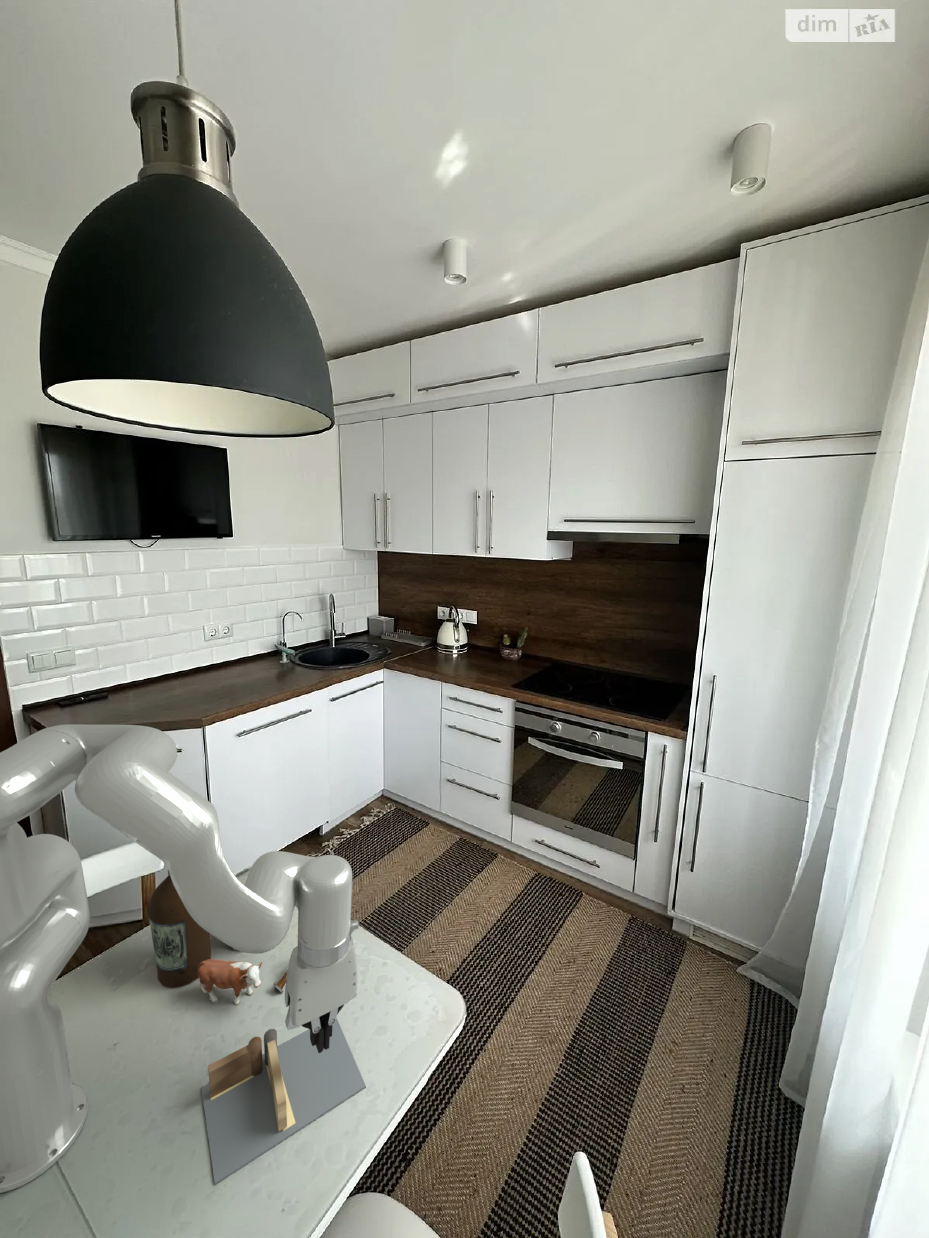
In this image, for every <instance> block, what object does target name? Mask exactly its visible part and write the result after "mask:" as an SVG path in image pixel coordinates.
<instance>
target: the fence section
mask: <svg viewBox="0 0 929 1238" xmlns="http://www.w3.org/2000/svg"><path fill="white" fill-rule="evenodd" d="M262 1041H263V1040H262V1038H261V1037H260V1036H253V1037H252V1038H251V1039H250V1040H249V1041H248V1044H247V1045H245V1046H243V1047H242V1048H238V1049H237V1050H235V1051H234V1052H232V1053H229V1054H228V1055H226V1056H224V1057H222V1058H220V1059H217V1060H216V1061H214V1062H212V1063H210V1064H209V1065H207V1071H208V1074H207V1075H208V1083H209V1089H210V1097H211V1098H212V1097H214V1096H216V1095H218V1094H219V1093H221V1092H223V1091H225V1090H227V1089H228V1088H230V1087H232V1086H234V1085H236V1084H237V1083H239V1082H241V1081H243V1080H245V1079H246V1078H248V1077H250V1076H257V1075H259V1074H260V1073H261V1071H262V1069H263V1063H262V1054H263V1045H262V1044H263V1042H262Z"/></svg>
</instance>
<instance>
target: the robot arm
mask: <svg viewBox="0 0 929 1238" xmlns="http://www.w3.org/2000/svg"><path fill="white" fill-rule="evenodd" d="M177 757H178V749H177V745H176V743H175V741H174V739H173V738H172V737H171V736H170V735H169V734H167V733H166V732H164V731H162V730H160V729H158V728H154V727H151V726H146V725H139V724H138V725H136V724H83V723H82V724H72V723H71V724H59V725H54V726H49V727H46V728H43V729H40V730H39V731H36V732H34V733H33V734H31V735H29V736H27V737H25V738H23V739H21V741H18V742H16V744H13V745H12V746H10V747H8V748H7V749H5V750H3V751H0V1194H1V1193H6V1192H10V1191H12V1190H15V1189H18V1188H20V1187H23V1186H24V1185H26V1184H28V1183H30V1182H32V1181H33V1180H35V1179H36V1178H37V1177H39V1176H40V1175H42V1174H44V1173H45V1172H46V1171H48V1169H49V1168H51V1167H52V1166H53V1165H55V1163H56V1162H57V1161H59V1159H60V1158H61V1157H63V1155H64V1154H65V1153H66V1152H67V1151H68V1150H69V1148H70V1147H71V1146H72V1145H73V1144H74V1142H75V1140H76V1139H77V1137H78V1136H79V1134H80V1133H81V1131H82V1129H83V1127H84V1126H85V1125H84V1124H85V1121H86V1119H87V1115H88V1109H89V1108H88V1107H89V1105H88V1097H87V1093H86V1092H85V1091H84V1089H83V1088H82V1087H80V1086H78V1085H77V1084H74V1083H72V1079H71V1073H70V1072H71V1071H70V1064H69V1063H70V1062H69V1056H68V1047H67V1039H66V1031H65V1026H64V1019H63V1014H62V1011H61V1008H60V1006H59V1005H58V1004H57V1003H55V1002H54V1001H52V1000H49V994H50V991H51V988H52V987H53V985H54V983H55V981H56V979H58V976H60V974H61V973H62V971H63V970H64V968H65V967H66V966H67V964H68V962H69V961H70V960H71V958H72V957H73V956H74V954H75V953H76V951H77V950H78V948H79V947H80V946H81V945H82V942H83V941H84V939H85V938H86V936H87V933H88V931H89V927H90V922H91V913H90V905H89V900H88V899H89V898H88V893H87V888H86V882H85V876H84V869H83V865H82V861H81V858H80V855H79V852H78V851H77V849H76V848H75V847H74V845H72V844H71V842H70V841H68V840H66V839H65V838H63V837H61V836H58V835H55V834H51V833H40V834H35V835H31V836H28V837H27V834H26V832H25V830H24V829H23V827H22V826H21V825H20V824H19V823H18V822H20V821H21V820H23V819H25V818H27V817H29V816H30V815H32V814H34V813H35V812H37V811H38V810H39V809H41V808H42V807H44V806H45V805H46V804H47V803H48V802H50V801H51V800H52V799H53V798H55V797H56V796H58V795H59V794H60V793H61V792H62V791H64V790H65V789H66V788H68V786H70V785H71V784H72V783H73V782H75V783H74V793H75V794H74V795H75V797H76V800H77V801H78V802H79V803H80V804H81V806H82V807H84V808H85V809H86V810H88V811H89V812H90V813H92V814H93V815H94V816H96V817H97V818H99V819H101V820H102V821H104V822H105V823H106V824H108V825H109V826H111V828H112V827H113V828H114V829H115V830H117V831H118V832H120V833H121V834H123V836H126V838H129V839H130V840H131V841H132V842H134V843H136V844H137V845H138V846H140V847H142V848H143V849H144V850H145V851H147V852H149V853H151V854H152V855H153V856H155V857H157V858H158V859H159V860H161V862H163V864H164V865H165V866H166V868H167V872H168V871H169V873H170V876H171V879H172V882H173V884H174V887H175V889H176V891H177V893H178V895H179V896H180V898H181V900H182V902H183V904H184V906H185V908H186V909H187V911H188V912H189V914H190V915H191V917H192V918H193V919H194V920H195V921H196V923H197V924H198V925H199V926H201V927H202V928H203V929H204V930H206V931H207V932H209V933H210V935H211V936H213V937H215V938H216V939H218V940H219V941H221V942H222V943H224V944H225V945H227V946H228V947H231V948H232V949H233V948H235V949H237V950H239V951H238V952H242V953H246V954H252V955H257V954H258V955H259V954H264V953H268V952H270V951H272V950H274V949H275V948H276V947H278V946H279V945H280V944H281V943H282V941H283V940H284V939H285V938H286V936H287V934H288V932H289V929H290V926H291V922H292V919H293V915H294V911H295V907H296V908H297V913H298V914H297V915H298V916H297V946H295V947H293V949H292V951H291V954H290V958H289V961H288V966H287V969H288V970H287V969H286V972H287V977H286V983H285V985H284V987H285V988H284V1004H285V1007H286V1008H288V1009H287V1013H286V1016H285V1021H284V1023H285V1026H286V1029H287V1031H290V1030H291V1031H292V1030H294V1029H297V1028H300V1027H302V1028H305V1029H307V1030H308V1029H310V1041H311V1044H312V1046H314V1045H316V1047H317V1050H318V1053H321V1052H322V1051H323V1050H324V1049H325V1050H327V1049H328V1048H329V1042H330V1037H331V1036H332V1025H333V1024H334V1023H335V1021H336V1018H338V1014H339V1013H340V1012H341V1010H342V1009H343V1007H344V1006H345V1005H346V1004H347V1003H349V1002H350V1001H352V1000H354V998H356V996H357V990H358V964H357V955H356V949H355V943H354V939H353V937H352V934H353V932H355V931H356V930H358V929H359V926H360V925H359V922H358V920H357V919H353V920H351V919H352V918H351V917H352V915H351V913H352V896H353V894H352V892H353V870H352V867H351V865H350V863H349V861H347V860H346V859H345V858H344V857H342V856H339V855H335V854H334V855H333V854H327V855H326V854H324V855H320V856H317V857H314V856H308V855H302V854H297V853H293V852H288V851H281V850H280V851H279V850H274V851H268V852H265V853H263V854H262V855H260V856H259V857H258V858H257V859H255V861H254V862H253V864H252V866H251V867H250V870H249V873H248V875H247V878H246V880H245V883H243V882H241V880H240V879H239V878H238V877H237V876H236V874H234V872H233V870H231V867H230V866H229V864H228V863H227V860H226V857H225V855H224V851H223V848H222V842H221V832H220V831H221V830H220V824H219V823H220V822H219V816H218V813H217V809H216V807H215V805H214V804H213V803H212V802H211V801H209V800H208V799H206V798H204V797H203V796H202V795H201V794H199V793H198V792H197V791H195V790H194V789H193V788H191V787H190V786H189V785H187V784H186V783H184V782H183V781H182V780H180V779H179V778H177V777H176V776H175V775H174V774H173V773H171V772H170V770H171V769H172V768H173V766H174V764H175V763H176V760H177ZM244 884H245V885H244Z"/></svg>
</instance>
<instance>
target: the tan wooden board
mask: <svg viewBox="0 0 929 1238" xmlns="http://www.w3.org/2000/svg"><path fill="white" fill-rule="evenodd" d="M277 1033H278V1031H277V1030H276V1029H275V1028H270V1029H268V1030H267V1031H265V1032H264V1035H263V1048H264V1049H263V1050H264V1053H263V1054H265V1064H266V1065H267V1066H268V1068H269V1074H270V1081H271V1087H272V1093H273V1099H274V1106H275V1112H276V1118H277V1125H278V1131H280V1130H282V1129H284V1128H286V1127H287V1110H286V1097H285V1091H284V1086H283V1080H282V1075H281V1069H280V1064H279V1058H278V1052H277V1046H278V1034H277Z"/></svg>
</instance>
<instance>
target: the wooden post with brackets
mask: <svg viewBox="0 0 929 1238" xmlns="http://www.w3.org/2000/svg"><path fill="white" fill-rule="evenodd" d="M287 970H288V968H287V969H286V972H284V974H283V976H282V977H281V978H280V980H278V981H277V982H276V983H273V984H272V986H273V987H274V989H275V990H276V989H277V990H278V991H279V992H280V993H281V994H283V992H284V990H283V989H284V987H285V985H286V977H287Z"/></svg>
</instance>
